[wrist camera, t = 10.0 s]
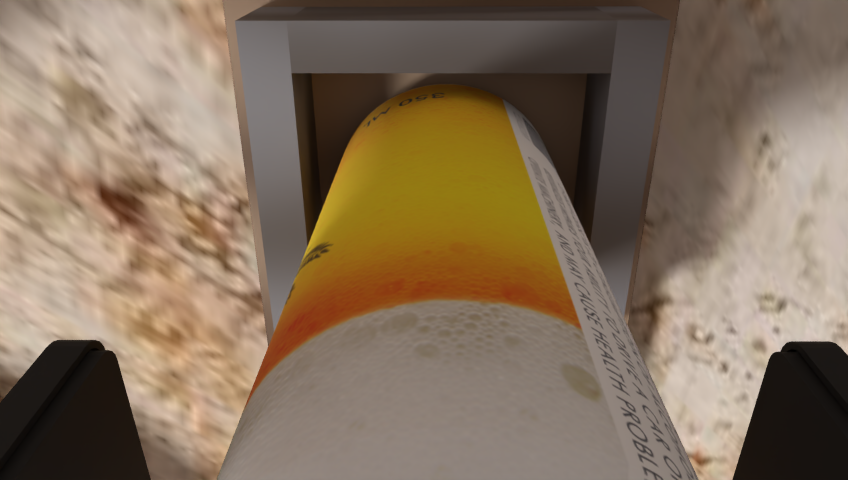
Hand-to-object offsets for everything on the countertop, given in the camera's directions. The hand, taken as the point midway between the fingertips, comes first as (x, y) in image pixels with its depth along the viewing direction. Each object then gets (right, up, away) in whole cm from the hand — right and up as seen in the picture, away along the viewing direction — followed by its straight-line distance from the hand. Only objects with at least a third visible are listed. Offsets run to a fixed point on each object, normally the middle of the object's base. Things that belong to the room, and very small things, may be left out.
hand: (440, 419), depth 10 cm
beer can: (0, +5, +10) cm, 11 cm away
